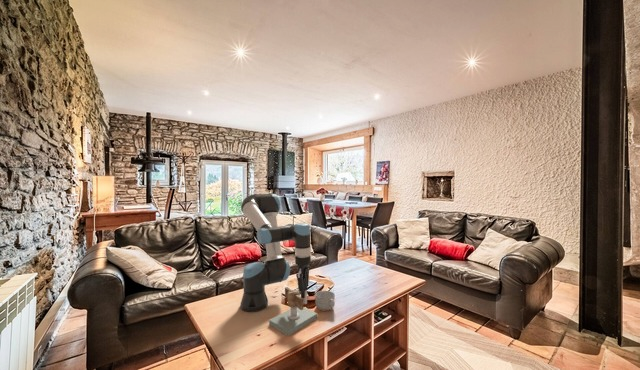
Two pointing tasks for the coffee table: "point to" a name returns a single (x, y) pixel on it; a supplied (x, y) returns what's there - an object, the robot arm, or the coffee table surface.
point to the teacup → (324, 300)
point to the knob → (294, 298)
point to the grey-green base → (293, 320)
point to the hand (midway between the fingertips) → (304, 303)
